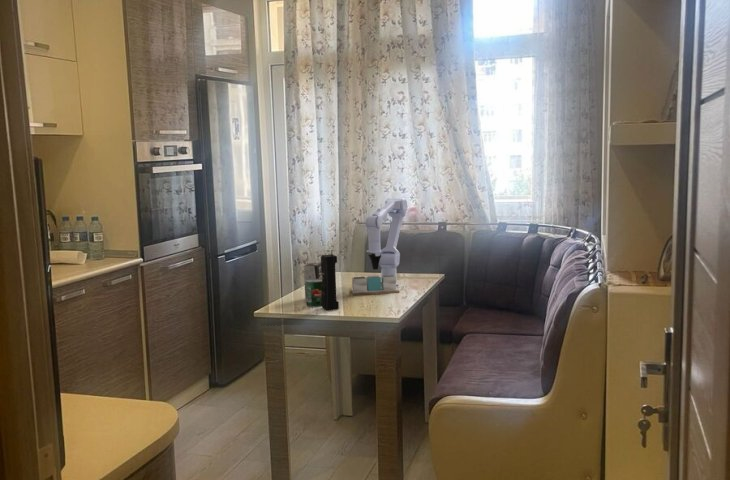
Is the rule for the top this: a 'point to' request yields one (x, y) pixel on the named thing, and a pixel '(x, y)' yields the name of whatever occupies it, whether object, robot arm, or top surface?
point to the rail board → (361, 289)
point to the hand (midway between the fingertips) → (375, 269)
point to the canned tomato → (313, 292)
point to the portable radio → (328, 282)
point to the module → (373, 283)
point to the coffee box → (312, 272)
